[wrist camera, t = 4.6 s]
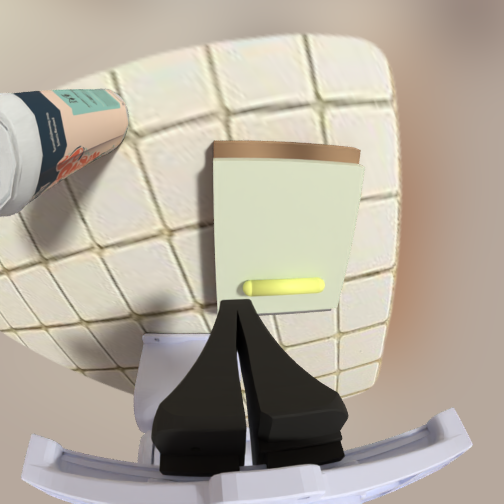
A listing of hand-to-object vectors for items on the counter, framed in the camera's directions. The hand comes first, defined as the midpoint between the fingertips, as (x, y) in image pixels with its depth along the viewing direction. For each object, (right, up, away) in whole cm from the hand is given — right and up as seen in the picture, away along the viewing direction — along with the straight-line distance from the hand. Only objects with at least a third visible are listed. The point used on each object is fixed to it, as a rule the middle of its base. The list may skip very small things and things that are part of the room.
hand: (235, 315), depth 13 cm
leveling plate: (+3, +4, +8) cm, 9 cm away
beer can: (-10, +12, +3) cm, 16 cm away
